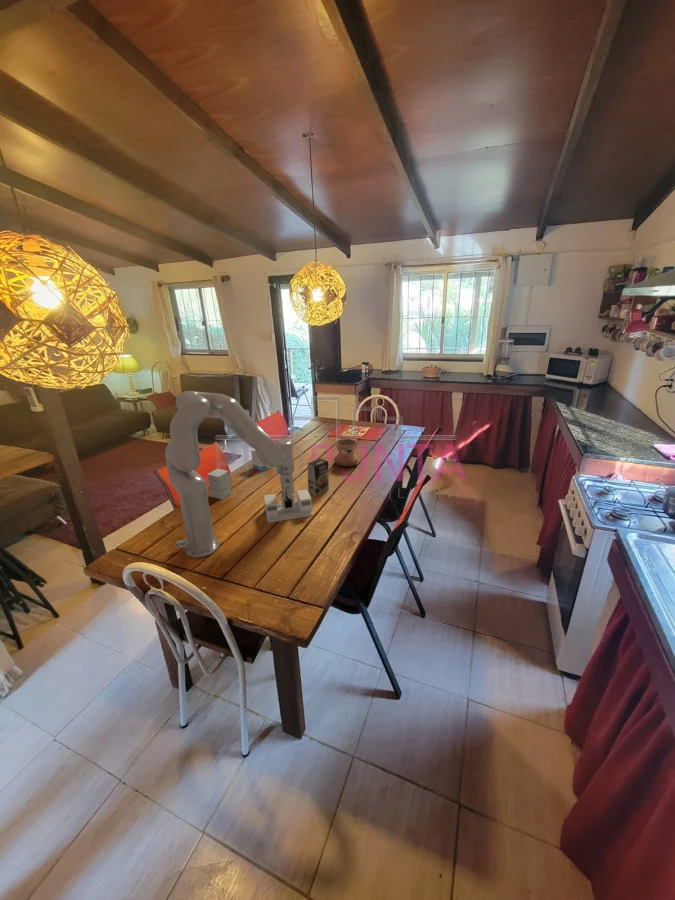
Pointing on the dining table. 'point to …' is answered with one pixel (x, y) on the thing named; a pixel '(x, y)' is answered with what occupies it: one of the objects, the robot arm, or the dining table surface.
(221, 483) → the supplement box
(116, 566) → the dining table surface
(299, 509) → the white channel bracket
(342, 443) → the ceramic jug
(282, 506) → the block
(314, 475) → the coffee box
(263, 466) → the ink box
